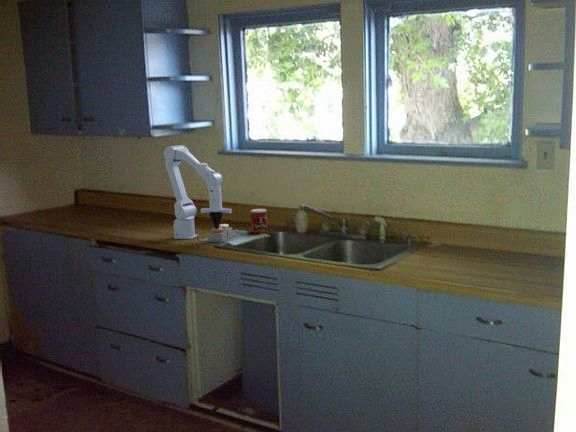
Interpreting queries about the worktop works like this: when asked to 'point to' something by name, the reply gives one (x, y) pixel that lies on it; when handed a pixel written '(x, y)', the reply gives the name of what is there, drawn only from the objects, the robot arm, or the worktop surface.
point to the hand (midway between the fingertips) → (217, 228)
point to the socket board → (221, 236)
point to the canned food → (259, 220)
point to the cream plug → (224, 226)
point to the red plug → (217, 230)
